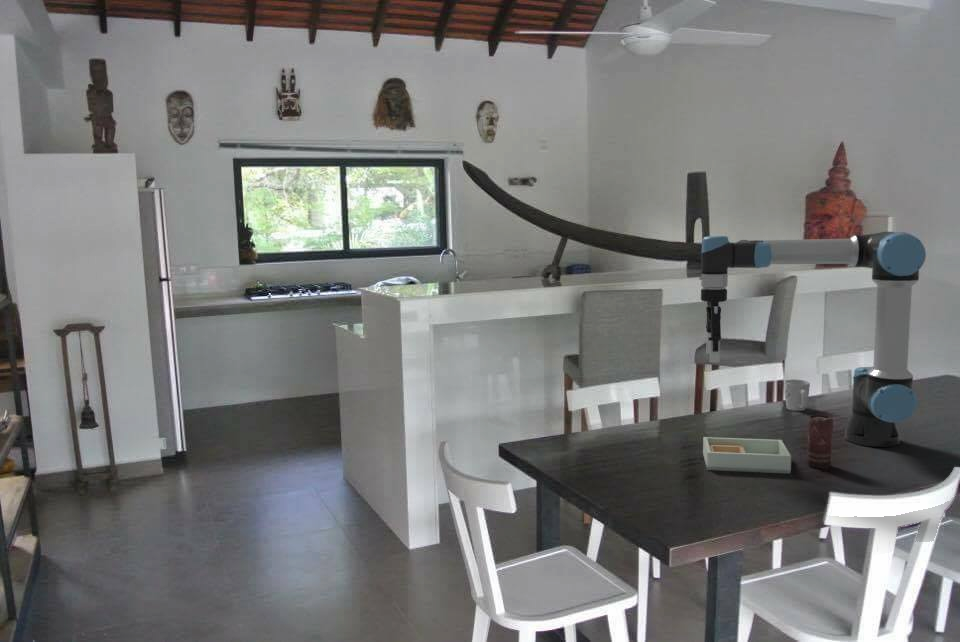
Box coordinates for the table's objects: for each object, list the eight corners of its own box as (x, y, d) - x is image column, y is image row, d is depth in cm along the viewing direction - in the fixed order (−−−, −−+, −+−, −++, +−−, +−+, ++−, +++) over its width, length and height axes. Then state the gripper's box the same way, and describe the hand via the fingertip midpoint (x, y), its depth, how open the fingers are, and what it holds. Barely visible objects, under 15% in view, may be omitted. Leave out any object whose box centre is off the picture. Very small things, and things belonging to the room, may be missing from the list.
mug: (816, 413, 264) (817, 386, 262) (792, 414, 264) (793, 386, 262) (802, 405, 275) (803, 379, 273) (779, 406, 275) (780, 379, 274)
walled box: (780, 456, 219) (781, 439, 219) (790, 473, 205) (791, 456, 204) (703, 453, 224) (703, 437, 223) (707, 469, 209) (707, 452, 209)
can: (833, 469, 207) (836, 420, 205) (809, 468, 208) (811, 420, 206) (828, 462, 213) (830, 414, 211) (804, 461, 214) (806, 414, 212)
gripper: (698, 284, 236) (697, 350, 239) (704, 292, 212) (703, 365, 215) (722, 283, 234) (721, 350, 237) (731, 292, 210) (730, 366, 213)
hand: (712, 357), depth 226 cm, fingers open, 13 cm apart
